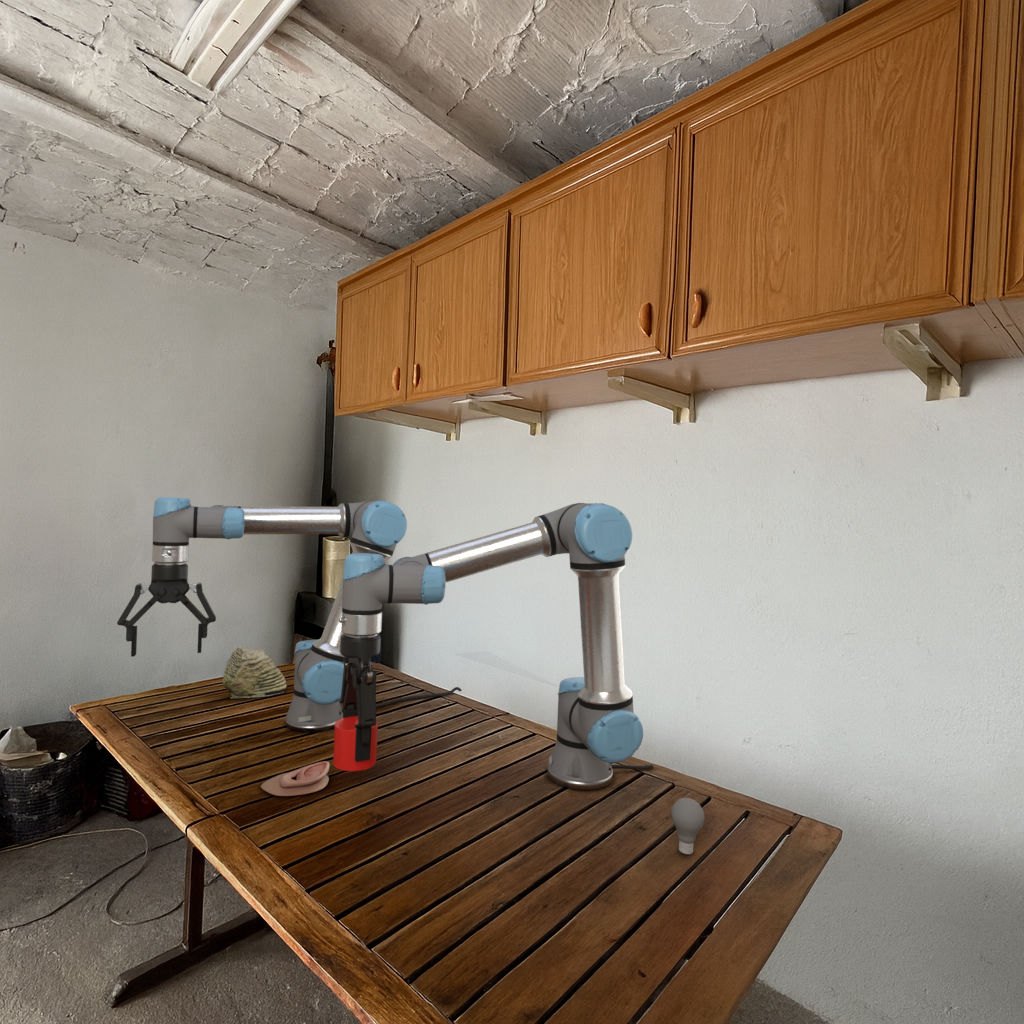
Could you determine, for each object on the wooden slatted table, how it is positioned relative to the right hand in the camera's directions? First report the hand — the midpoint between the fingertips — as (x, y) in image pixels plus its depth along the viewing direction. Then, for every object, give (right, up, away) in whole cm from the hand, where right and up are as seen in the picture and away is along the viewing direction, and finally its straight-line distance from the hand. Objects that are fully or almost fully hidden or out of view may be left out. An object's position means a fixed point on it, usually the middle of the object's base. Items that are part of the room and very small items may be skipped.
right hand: (355, 751), depth 122 cm
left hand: (-51, +13, +26) cm, 59 cm away
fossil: (-50, -11, +76) cm, 92 cm away
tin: (0, -2, 0) cm, 2 cm away
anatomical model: (-17, -14, +16) cm, 27 cm away
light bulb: (+63, -18, -4) cm, 65 cm away
